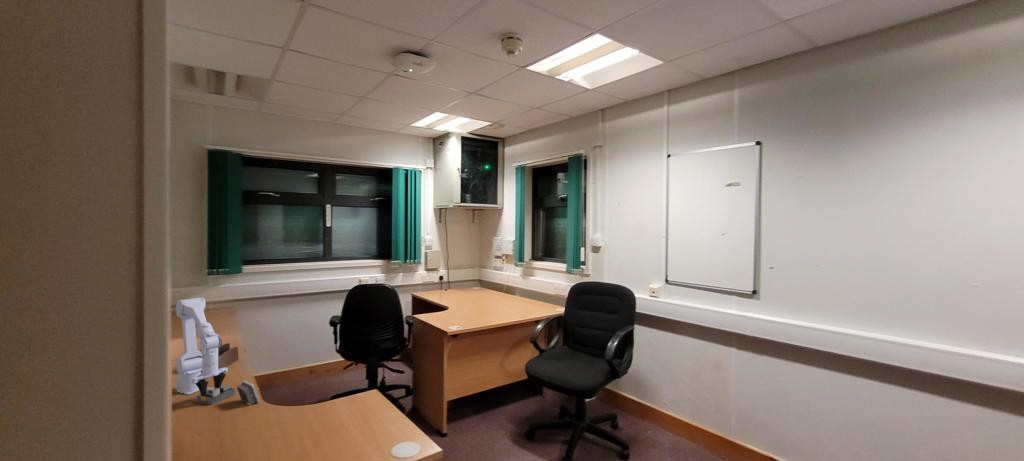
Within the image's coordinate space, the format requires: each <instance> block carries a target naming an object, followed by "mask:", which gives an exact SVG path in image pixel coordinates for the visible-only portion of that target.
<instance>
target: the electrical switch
mask: <svg viewBox="0 0 1024 461" xmlns="http://www.w3.org/2000/svg"><path fill="white" fill-rule="evenodd" d="M236 389H237V392H238V394H239V397H240V400H241V402H242V401H243V403H244V402H245V404H246V403H249V404H250V405H249V406H252V405H253V404H255V403H256V404H259V403H260V398H259V395H258V392H257V390H256V387H255V385H254V384H253V383H251V382H249V381H246V380H242V383H240V384H239V385H237V386H236Z"/></svg>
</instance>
